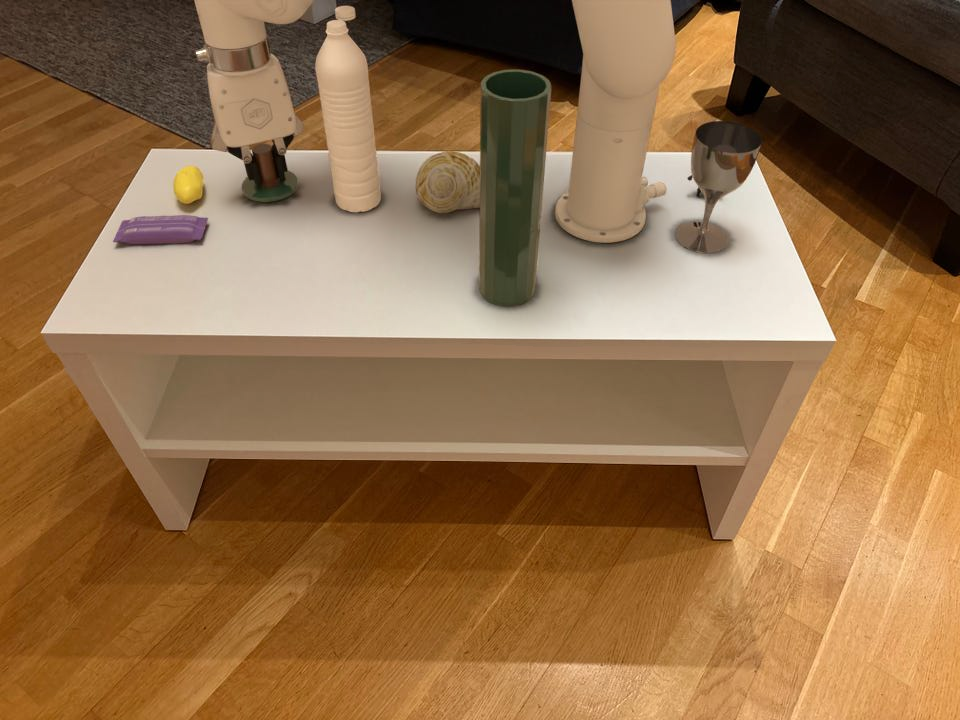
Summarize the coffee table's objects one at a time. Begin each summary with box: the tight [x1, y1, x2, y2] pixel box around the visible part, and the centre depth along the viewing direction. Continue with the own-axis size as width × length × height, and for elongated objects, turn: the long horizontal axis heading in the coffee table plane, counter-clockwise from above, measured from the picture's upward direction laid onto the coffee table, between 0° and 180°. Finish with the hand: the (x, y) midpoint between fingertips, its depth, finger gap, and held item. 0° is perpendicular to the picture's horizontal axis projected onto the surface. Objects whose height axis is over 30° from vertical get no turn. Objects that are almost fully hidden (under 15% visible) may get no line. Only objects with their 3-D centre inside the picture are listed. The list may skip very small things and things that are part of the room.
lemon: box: [172, 165, 205, 205], centre depth 105 cm, size 4×8×4 cm, turn 5°
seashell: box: [415, 150, 480, 214], centre depth 104 cm, size 10×10×10 cm
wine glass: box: [674, 120, 763, 254], centre depth 95 cm, size 8×8×15 cm
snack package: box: [112, 214, 209, 245], centre depth 99 cm, size 12×2×5 cm
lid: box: [241, 143, 299, 203], centre depth 105 cm, size 8×8×7 cm
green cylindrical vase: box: [478, 69, 552, 307], centre depth 83 cm, size 7×7×26 cm
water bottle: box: [314, 5, 382, 213], centre depth 98 cm, size 9×6×25 cm
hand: (268, 178), depth 106 cm, fingers closed on lid, 2 cm apart
